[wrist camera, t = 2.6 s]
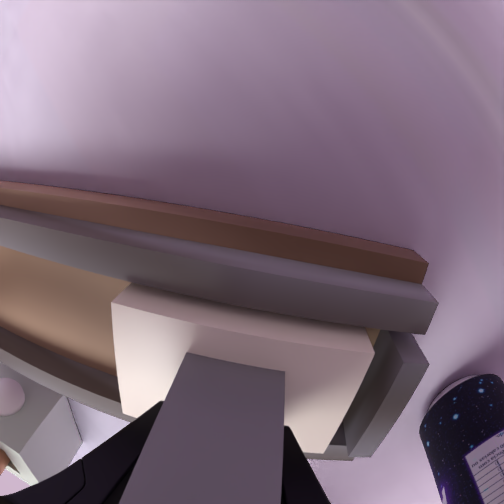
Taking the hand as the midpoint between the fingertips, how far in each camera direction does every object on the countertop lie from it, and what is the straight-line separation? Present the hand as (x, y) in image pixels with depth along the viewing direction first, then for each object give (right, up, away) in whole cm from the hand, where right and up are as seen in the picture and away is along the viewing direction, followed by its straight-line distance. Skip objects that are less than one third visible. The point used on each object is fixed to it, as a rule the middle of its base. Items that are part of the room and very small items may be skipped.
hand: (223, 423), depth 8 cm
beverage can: (+13, -4, +5) cm, 14 cm away
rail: (-5, +3, +5) cm, 8 cm away
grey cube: (-15, -6, +9) cm, 18 cm away
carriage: (0, +1, +3) cm, 3 cm away
